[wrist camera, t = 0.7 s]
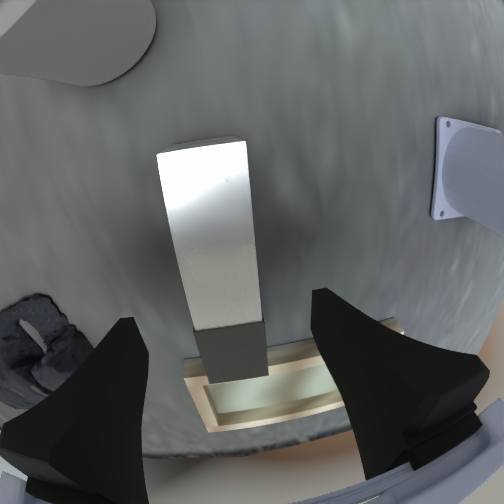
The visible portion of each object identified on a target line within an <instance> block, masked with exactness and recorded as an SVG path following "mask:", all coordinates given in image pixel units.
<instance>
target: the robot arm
mask: <svg viewBox="0 0 504 504" xmlns="http://www.w3.org/2000/svg"><path fill="white" fill-rule="evenodd" d="M446 122H447V126H446ZM440 212H441V214H440ZM464 216H466V217H468V218H470V219H472V220H474V221H475V222H477V223H479V224H481V225H482V226H484V227H486V228H487V229H489V230H491V231H492V232H494V233H496V234H497V235H499V236H501V237H502V238H504V135H502V133H501V131H500V130H497V129H493V128H490V127H486V126H482V125H478V124H474V123H470V122H466V121H462V120H457V119H452V118H447V117H438V119H437V142H436V167H435V181H434V192H433V201H432V210H431V217H432V218H433V219H435V220H442V219H449V218H457V217H464ZM311 331H312V334H313V337H314V340H315V343H316V346H317V348H318V351H319V353H320V355H321V357H322V359H323V361H324V363H325V365H326V367H327V368H328V370H329V372H330V374H331V376H332V378H333V380H334V382H335V384H336V386H337V388H338V390H339V392H340V395H341V397H342V399H343V402H344V405H345V408H346V411H347V413H348V416H349V419H350V422H351V426H352V429H353V432H354V435H355V438H356V442H357V445H358V449H359V453H360V457H361V461H362V464H363V469H364V474H365V479H366V481H364V482H361V483H359V484H356V485H353V486H351V487H347V488H345V489H342V490H338V491H335V492H332V493H329V494H325V495H322V496H318V497H315V498H311V499H307V500H303V501H298V502H294V503H290V504H358V503H361V502H364V501H366V500H369V499H371V498H374V497H376V496H379V495H380V496H379V497H377V498H375V499H373V500H371V501H369V502H367V503H364V504H460V503H461V502H462V501H464V500H465V499H466V498H468V497H469V496H470V495H471V494H472V493H474V492H475V491H476V490H477V489H478V488H479V487H481V486H482V485H483V484H484V483H485V482H486V481H487V480H488V479H490V478H491V477H492V476H493V475H494V474H495V473H496V472H497V471H498V470H499V469H500V468H501V467H502V466H503V465H504V401H503V400H502V399H501V398H499V399H497V400H496V401H495V402H494V403H492V404H491V405H490V406H489V407H487V408H486V409H485V410H484V411H482V412H481V413H480V414H479V415H478V416H477V415H476V414H475V412H474V411H475V410H476V409H477V406H476V404H475V403H474V402H473V401H474V399H475V398H476V396H477V395H478V394H479V392H480V391H481V389H482V388H483V387H484V385H485V384H486V382H487V380H488V378H489V373H490V370H489V369H488V368H487V367H486V366H485V364H484V363H483V362H482V361H481V360H480V358H479V357H478V356H477V355H473V354H467V353H461V352H455V351H450V350H446V349H442V348H439V347H435V346H432V345H429V344H426V343H423V342H420V341H417V340H415V339H412V338H410V337H407V336H405V335H403V334H401V333H399V332H396V331H394V330H392V329H390V328H388V327H386V326H384V325H383V324H381V323H379V322H377V321H376V320H374V319H372V318H371V317H369V316H367V315H366V314H364V313H363V312H361V311H360V310H358V309H357V308H355V307H354V306H352V305H351V304H349V303H348V302H346V301H345V300H343V299H342V298H341V297H339V296H338V295H336V294H335V293H333V292H332V291H331V290H329V289H328V288H322V289H317V290H312V308H311ZM148 365H149V352H148V350H147V348H146V345H145V343H144V341H143V339H142V336H141V334H140V332H139V329H138V327H137V324H136V322H135V320H134V317H128V318H120V319H119V320H118V321H117V322H116V323H115V325H114V326H113V327H112V328H111V329H110V331H109V332H108V333H107V334H106V336H105V337H104V338H103V339H102V341H101V342H100V343H99V344H98V346H97V347H96V348H95V349H94V350H93V352H92V353H91V354H90V355H89V356H88V357H87V358H86V360H85V361H84V362H83V363H82V364H81V365H80V367H79V368H78V369H77V370H76V371H75V372H74V373H73V374H72V375H71V376H70V377H69V378H68V379H67V380H66V381H65V382H64V383H63V384H62V385H60V386H59V387H58V388H57V389H56V390H54V391H53V392H52V393H51V394H50V395H48V396H47V397H46V398H45V399H43V400H42V401H41V402H39V403H38V404H37V405H35V406H34V407H32V408H31V409H29V410H28V411H26V412H24V413H23V414H21V415H19V416H17V417H15V418H13V419H12V420H10V421H8V422H6V423H4V425H3V427H2V431H1V434H0V456H1V457H2V458H4V459H5V460H6V461H7V462H9V463H10V464H11V465H12V466H14V467H15V468H17V469H18V470H19V471H21V472H22V473H24V474H25V475H27V476H28V479H27V482H26V481H24V480H22V479H20V478H18V477H16V476H13V475H11V474H8V473H6V472H2V474H1V478H0V504H149V501H148V497H147V491H146V485H145V478H144V471H143V461H142V439H141V426H142V414H143V407H144V400H145V393H146V386H147V379H148Z"/></svg>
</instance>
